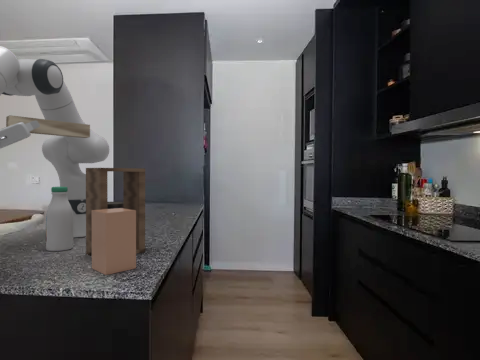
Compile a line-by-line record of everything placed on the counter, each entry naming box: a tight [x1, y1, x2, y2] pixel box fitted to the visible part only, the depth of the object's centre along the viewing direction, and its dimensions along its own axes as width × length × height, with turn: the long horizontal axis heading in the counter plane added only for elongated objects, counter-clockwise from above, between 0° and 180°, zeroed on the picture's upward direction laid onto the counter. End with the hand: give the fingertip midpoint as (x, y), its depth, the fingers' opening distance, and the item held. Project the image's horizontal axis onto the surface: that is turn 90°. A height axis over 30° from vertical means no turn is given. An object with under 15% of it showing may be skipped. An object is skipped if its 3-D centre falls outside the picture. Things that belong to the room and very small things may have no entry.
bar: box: [5, 114, 91, 138], centre depth 88 cm, size 4×19×4 cm, turn 137°
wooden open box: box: [85, 167, 146, 258], centre depth 102 cm, size 10×14×26 cm
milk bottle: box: [45, 186, 74, 252], centre depth 107 cm, size 8×8×20 cm
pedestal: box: [91, 208, 137, 276], centre depth 86 cm, size 8×8×15 cm
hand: (34, 124), depth 86 cm, fingers closed on bar, 3 cm apart
